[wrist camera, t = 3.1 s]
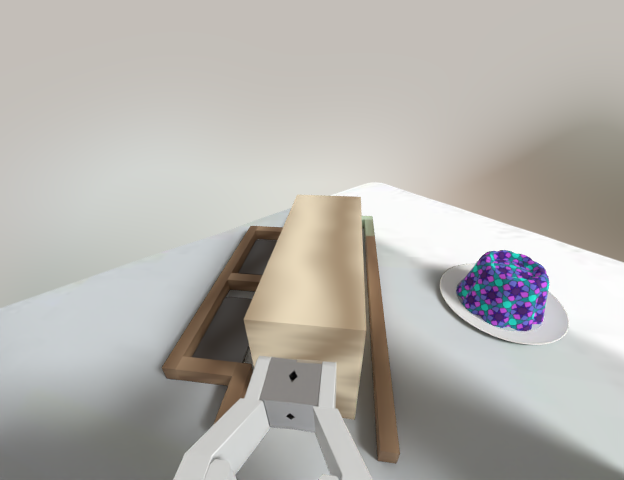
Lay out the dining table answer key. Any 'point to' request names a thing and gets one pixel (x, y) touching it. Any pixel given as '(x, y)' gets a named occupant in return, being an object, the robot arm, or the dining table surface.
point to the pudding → (506, 298)
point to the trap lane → (234, 342)
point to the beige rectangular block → (315, 293)
